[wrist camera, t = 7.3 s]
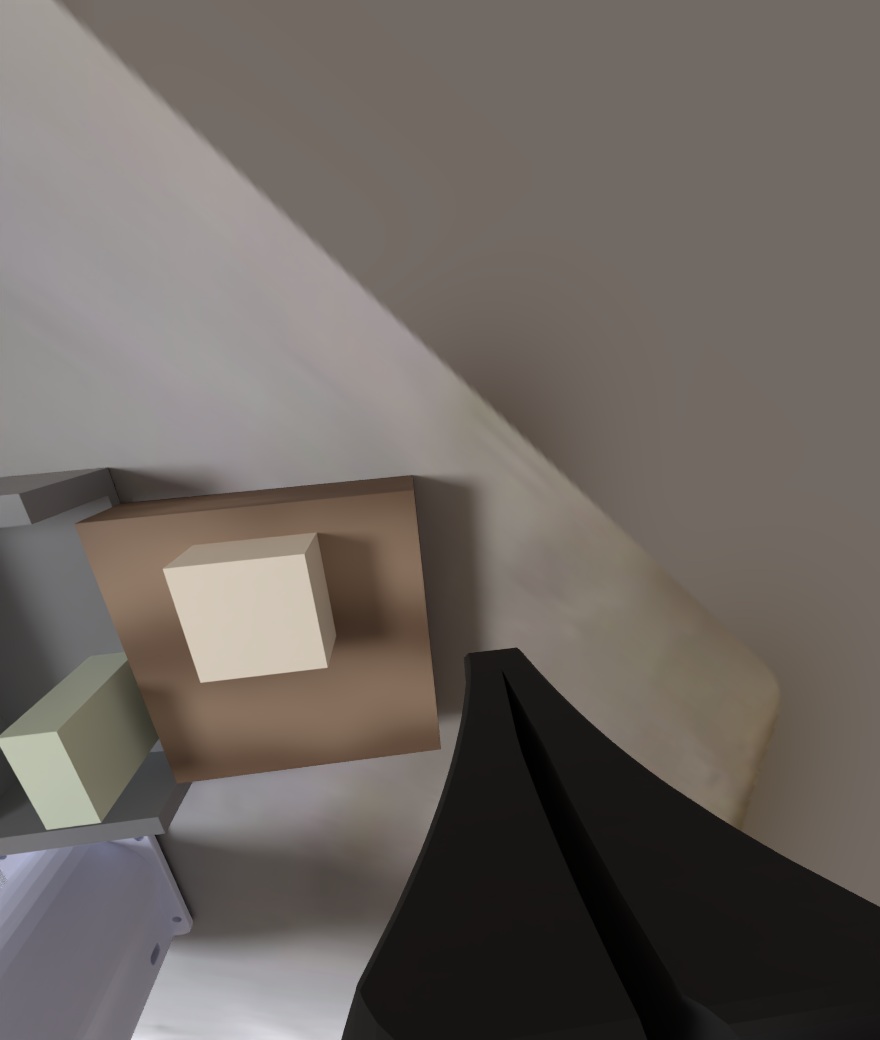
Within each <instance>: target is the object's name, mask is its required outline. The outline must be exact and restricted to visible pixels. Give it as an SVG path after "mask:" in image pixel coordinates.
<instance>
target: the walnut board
mask: <svg viewBox="0 0 880 1040" xmlns="http://www.w3.org/2000/svg"><path fill="white" fill-rule="evenodd" d="M74 525H75V527H76V530H77V532H78V535H79V538H80V540H81V543H82V545H83V548H84V550H85V553H86V555H87V558H88V560H89V563H90V565H91V568H92V570H93V573H94V575H95V578H96V581H97V583H98V586H99V588H100V591H101V593H102V596H103V598H104V601H105V603H106V606H107V608H108V611H109V613H110V616H111V618H112V621H113V624H114V626H115V629H116V631H117V634H118V636H119V639H120V641H121V644H122V646H123V649H124V651H125V654H126V656H127V659H128V662H129V664H130V667H131V669H132V672H133V674H134V677H135V679H136V682H137V684H138V687H139V689H140V692H141V694H142V697H143V699H144V702H145V705H146V707H147V710H148V712H149V715H150V717H151V720H152V722H153V725H154V727H155V730H156V732H157V735H158V737H159V740H160V743H161V745H162V748H163V750H164V753H165V755H166V758H167V760H168V763H169V765H170V768H171V770H172V773H173V775H174V778H175V780H176V783H177V784H178V783H186V782H193V781H201V780H209V779H216V778H224V777H232V776H239V775H247V774H255V773H262V772H270V771H278V770H285V769H293V768H301V767H308V766H316V765H324V764H331V763H339V762H346V761H354V760H362V759H369V758H377V757H385V756H392V755H400V754H408V753H415V752H423V751H431V750H438V749H441V745H440V735H439V725H438V714H437V704H436V695H435V685H434V676H433V666H432V657H431V647H430V637H429V628H428V618H427V609H426V599H425V590H424V580H423V570H422V561H421V551H420V542H419V532H418V523H417V513H416V503H415V494H414V484H413V475H410V476H400V477H390V478H379V479H369V480H359V481H348V482H338V483H328V484H317V485H307V486H297V487H287V488H276V489H266V490H256V491H245V492H235V493H225V494H214V495H204V496H194V497H183V498H173V499H163V500H152V501H142V502H132V503H121V504H118V505H116V506H114V507H111V508H109V509H107V510H104V511H102V512H100V513H98V514H95V515H93V516H91V517H88V518H86V519H84V520H81V521H79V522H77V523H75V524H74ZM307 533H317V537H318V542H319V547H320V552H321V558H322V563H323V568H324V573H325V579H326V584H327V589H328V594H329V600H330V605H331V610H332V615H333V620H334V626H335V631H336V639H335V642H334V646H333V650H332V653H331V657H330V661H329V665H328V668H321V669H312V670H304V671H296V672H287V673H279V674H270V675H262V676H254V677H245V678H237V679H228V680H220V681H212V682H203V683H200V680H199V677H198V674H197V671H196V668H195V665H194V662H193V659H192V656H191V653H190V650H189V647H188V644H187V641H186V638H185V635H184V632H183V629H182V626H181V623H180V620H179V617H178V614H177V611H176V608H175V605H174V602H173V599H172V596H171V593H170V590H169V587H168V584H167V581H166V578H165V575H164V572H163V568H164V567H166V566H167V565H168V564H169V563H171V562H172V561H173V560H175V559H176V558H177V557H178V556H180V555H181V554H182V553H184V552H185V551H186V550H187V549H189V548H190V547H191V546H193V545H200V544H210V543H220V542H229V541H239V540H249V539H259V538H268V537H278V536H288V535H298V534H307Z"/></svg>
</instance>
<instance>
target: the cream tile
mask: <svg viewBox="0 0 880 1040" xmlns="http://www.w3.org/2000/svg"><path fill="white" fill-rule="evenodd" d="M163 572H164V575H165V578H166V581H167V584H168V587H169V590H170V593H171V596H172V599H173V602H174V605H175V608H176V611H177V614H178V617H179V620H180V623H181V626H182V629H183V632H184V635H185V638H186V641H187V644H188V647H189V650H190V653H191V656H192V659H193V662H194V665H195V668H196V671H197V674H198V677H199V680H200V683H203V682H212V681H220V680H228V679H237V678H245V677H254V676H262V675H270V674H279V673H287V672H296V671H304V670H312V669H321V668H328V665H329V661H330V657H331V653H332V650H333V646H334V642H335V639H336V631H335V626H334V620H333V615H332V610H331V605H330V600H329V594H328V589H327V584H326V579H325V573H324V568H323V563H322V558H321V552H320V547H319V542H318V537H317V533H307V534H298V535H288V536H278V537H268V538H259V539H249V540H239V541H229V542H220V543H210V544H200V545H193V546H191V547H190V548H189V549H187V550H186V551H185V552H184V553H182V554H181V555H180V556H178V557H177V558H176V559H175V560H173V561H172V562H171V563H169V564H168V565H167V566H166V567H164V568H163Z"/></svg>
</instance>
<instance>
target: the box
mask: <svg viewBox="0 0 880 1040" xmlns="http://www.w3.org/2000/svg"><path fill="white" fill-rule="evenodd" d="M118 504H120V501H119V498H118V495H117V493H116V490H115V487H114V484H113V481H112V478H111V475H110V473H109V470H108V468H98V469H87V470H76V471H65V472H55V473H44V474H33V475H22V476H11V477H1V478H0V735H1V734H2V733H3V732H4V731H5V730H6V729H7V728H9V727H10V726H11V725H12V724H13V723H14V722H15V721H17V720H18V719H19V718H20V717H21V716H22V715H23V714H25V713H26V712H27V711H28V710H29V709H30V708H31V707H33V706H34V705H35V704H36V703H37V702H38V701H39V700H41V699H42V698H43V697H44V696H45V695H46V694H47V693H49V692H50V691H51V690H52V689H53V688H54V687H55V686H57V685H58V684H59V683H60V682H61V681H62V680H63V679H65V678H66V677H67V676H68V675H69V674H70V673H71V672H72V671H74V670H75V669H76V668H77V667H78V666H79V665H80V664H82V663H83V662H84V661H85V660H86V659H87V658H88V657H90V656H95V655H104V654H113V653H122V652H125V651H124V649H123V646H122V644H121V641H120V639H119V636H118V634H117V631H116V629H115V626H114V624H113V621H112V618H111V616H110V613H109V611H108V608H107V606H106V603H105V601H104V598H103V596H102V593H101V591H100V588H99V586H98V583H97V581H96V578H95V575H94V573H93V570H92V568H91V565H90V563H89V560H88V558H87V555H86V553H85V550H84V548H83V545H82V543H81V540H80V538H79V535H78V532H77V530H76V527H75V525H74V524H75V523H77V522H79V521H81V520H84V519H86V518H88V517H91V516H93V515H95V514H98V513H100V512H102V511H104V510H107V509H109V508H111V507H114V506H116V505H118ZM191 784H192V782H186V783H178V784H177V783H176V780H175V778H174V775H173V773H172V770H171V768H170V765H169V763H168V760H167V758H166V755H165V753H164V750H163V748H162V745H161V743H160V740H159V739H158V741H157V742H156V744H155V745H154V747H153V748H152V749H151V751H150V752H149V754H148V755H147V757H146V758H145V760H144V761H143V763H142V764H141V765H140V767H139V768H138V770H137V771H136V773H135V774H134V776H133V777H132V779H131V780H130V782H129V783H128V784H127V786H126V787H125V789H124V790H123V792H122V793H121V795H120V796H119V798H118V799H117V800H116V802H115V803H114V805H113V806H112V808H111V809H110V811H109V812H108V814H107V815H106V816H105V818H104V819H103V821H102V822H101V823H95V824H88V825H80V826H72V827H65V828H57V829H50V830H46V828H45V826H44V824H43V822H42V821H41V819H40V817H39V815H38V813H37V812H36V810H35V808H34V806H33V805H32V803H31V801H30V799H29V797H28V796H27V794H26V792H25V790H24V788H23V787H22V785H21V783H20V781H19V780H18V778H17V776H16V774H15V772H14V771H13V769H12V767H11V765H10V763H9V762H8V760H7V758H6V756H5V754H4V753H3V751H2V749H1V747H0V856H4V855H12V854H19V853H26V852H34V851H41V850H48V849H56V848H63V847H70V846H78V845H85V844H92V843H100V842H107V841H114V840H122V839H129V838H136V837H144V836H151V835H158V834H165V833H166V831H167V829H168V827H169V825H170V823H171V822H172V820H173V818H174V816H175V814H176V812H177V810H178V808H179V806H180V804H181V803H182V801H183V799H184V797H185V795H186V793H187V791H188V789H189V787H190V786H191Z"/></svg>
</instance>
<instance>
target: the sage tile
mask: <svg viewBox="0 0 880 1040" xmlns="http://www.w3.org/2000/svg"><path fill="white" fill-rule="evenodd" d="M158 739H159V737H158V735H157V732H156V730H155V727H154V725H153V722H152V720H151V717H150V715H149V712H148V710H147V707H146V705H145V702H144V699H143V697H142V694H141V692H140V689H139V687H138V684H137V682H136V679H135V677H134V674H133V672H132V669H131V667H130V664H129V662H128V659H127V656H126V654H125V652H122V653H113V654H104V655H95V656H90V657H88V658H87V659H86V660H85V661H84V662H83V663H82V664H80V665H79V666H78V667H77V668H76V669H75V670H74V671H72V672H71V673H70V674H69V675H68V676H67V677H66V678H65V679H63V680H62V681H61V682H60V683H59V684H58V685H57V686H55V687H54V688H53V689H52V690H51V691H50V692H49V693H47V694H46V695H45V696H44V697H43V698H42V699H41V700H39V701H38V702H37V703H36V704H35V705H34V706H33V707H31V708H30V709H29V710H28V711H27V712H26V713H25V714H23V715H22V716H21V717H20V718H19V719H18V720H17V721H15V722H14V723H13V724H12V725H11V726H10V727H9V728H7V729H6V730H5V731H4V732H3V733H2V734H1V735H0V747H1V749H2V751H3V753H4V754H5V756H6V758H7V760H8V762H9V763H10V765H11V767H12V769H13V771H14V772H15V774H16V776H17V778H18V780H19V781H20V783H21V785H22V787H23V788H24V790H25V792H26V794H27V796H28V797H29V799H30V801H31V803H32V805H33V806H34V808H35V810H36V812H37V813H38V815H39V817H40V819H41V821H42V822H43V824H44V826H45V828H46V830H50V829H57V828H65V827H72V826H80V825H88V824H95V823H101V822H102V821H103V819H104V818H105V816H106V815H107V814H108V812H109V811H110V809H111V808H112V806H113V805H114V803H115V802H116V800H117V799H118V798H119V796H120V795H121V793H122V792H123V790H124V789H125V787H126V786H127V784H128V783H129V782H130V780H131V779H132V777H133V776H134V774H135V773H136V771H137V770H138V768H139V767H140V765H141V764H142V763H143V761H144V760H145V758H146V757H147V755H148V754H149V752H150V751H151V749H152V748H153V747H154V745H155V744H156V742H157V741H158Z"/></svg>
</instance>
